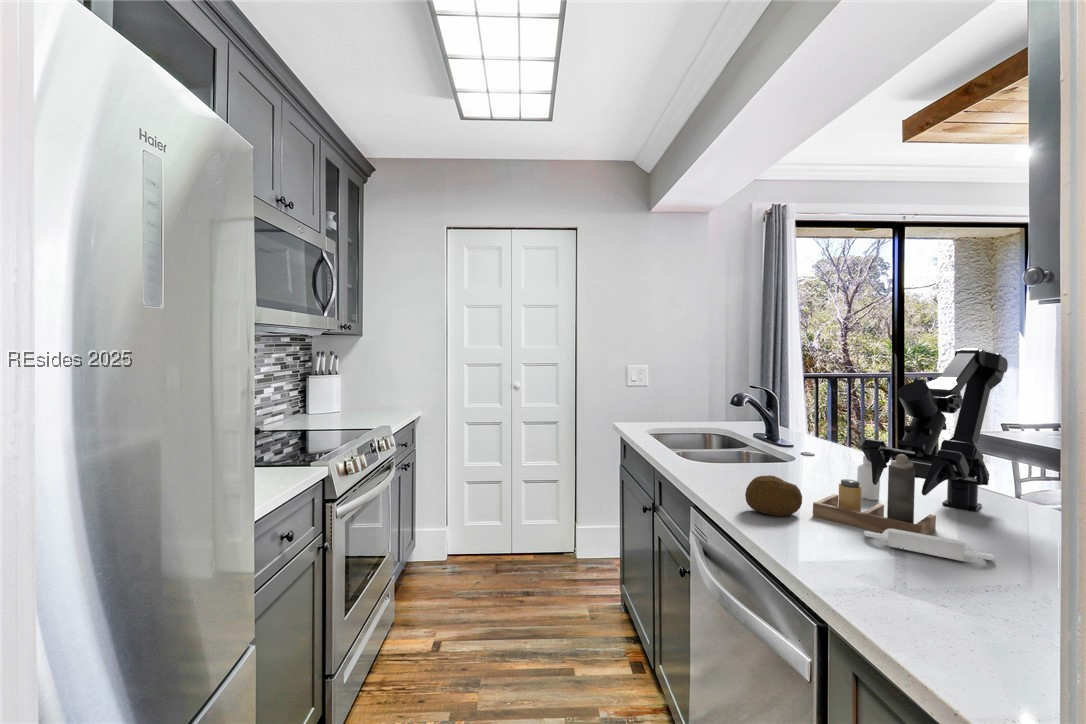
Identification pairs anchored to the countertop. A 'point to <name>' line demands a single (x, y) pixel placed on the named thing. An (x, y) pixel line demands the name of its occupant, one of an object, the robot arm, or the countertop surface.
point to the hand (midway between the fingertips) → (897, 488)
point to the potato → (773, 496)
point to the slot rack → (869, 517)
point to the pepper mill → (901, 489)
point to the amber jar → (850, 495)
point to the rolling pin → (928, 544)
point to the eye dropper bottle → (867, 481)
